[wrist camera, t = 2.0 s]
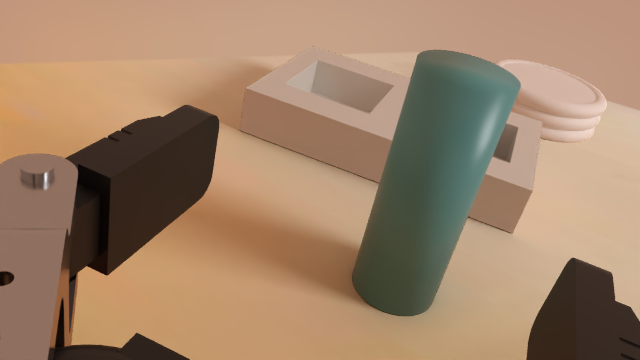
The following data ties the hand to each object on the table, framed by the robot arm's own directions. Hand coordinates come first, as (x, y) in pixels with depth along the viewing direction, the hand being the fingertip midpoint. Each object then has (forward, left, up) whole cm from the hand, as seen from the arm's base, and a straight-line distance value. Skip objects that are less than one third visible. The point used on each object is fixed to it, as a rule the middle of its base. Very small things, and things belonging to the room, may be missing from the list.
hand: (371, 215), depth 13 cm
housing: (+4, -25, -11) cm, 28 cm away
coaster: (-5, -40, -11) cm, 42 cm away
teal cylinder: (0, -11, -11) cm, 16 cm away
